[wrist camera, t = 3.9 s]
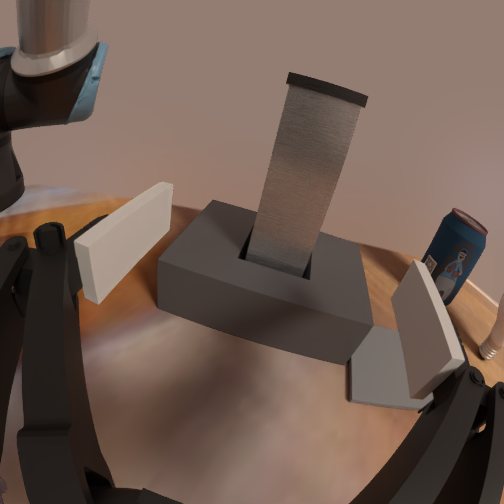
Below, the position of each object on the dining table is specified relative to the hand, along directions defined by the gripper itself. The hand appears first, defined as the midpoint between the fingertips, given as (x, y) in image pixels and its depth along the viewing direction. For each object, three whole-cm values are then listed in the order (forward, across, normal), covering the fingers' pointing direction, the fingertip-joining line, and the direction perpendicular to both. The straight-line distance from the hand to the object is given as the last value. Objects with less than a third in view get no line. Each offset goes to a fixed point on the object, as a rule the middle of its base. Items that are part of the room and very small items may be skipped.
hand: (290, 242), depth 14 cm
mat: (+3, +13, -10) cm, 17 cm away
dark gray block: (+8, 0, -10) cm, 13 cm away
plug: (+8, 0, -10) cm, 13 cm away
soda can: (+17, +22, -11) cm, 30 cm away
